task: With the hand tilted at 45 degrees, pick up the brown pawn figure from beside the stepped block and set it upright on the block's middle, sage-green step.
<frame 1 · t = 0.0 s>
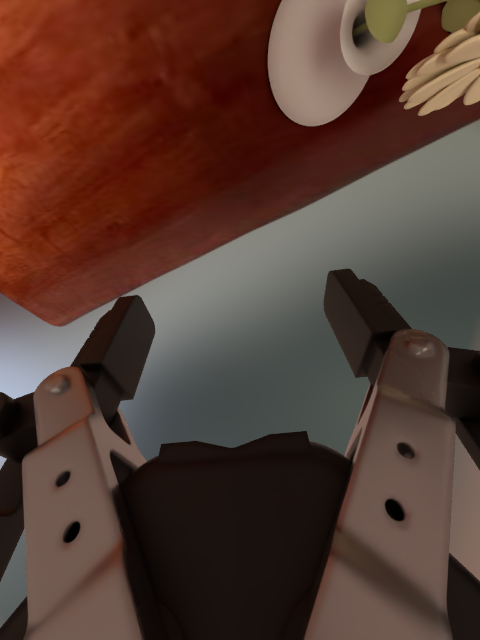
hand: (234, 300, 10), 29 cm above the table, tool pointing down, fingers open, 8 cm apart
flower in vase: (324, 59, 25), on the table
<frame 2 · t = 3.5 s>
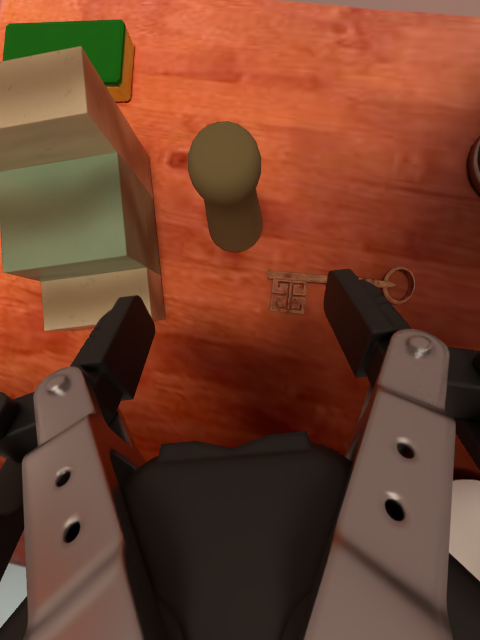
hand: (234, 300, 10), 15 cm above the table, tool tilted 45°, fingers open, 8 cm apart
stepped block: (110, 243, 26), on the table
key: (336, 290, 25), on the table
brown pawn figure: (235, 226, 26), on the table
flower in vase: (460, 532, 23), on the table
dish sponge: (78, 76, 28), on the table
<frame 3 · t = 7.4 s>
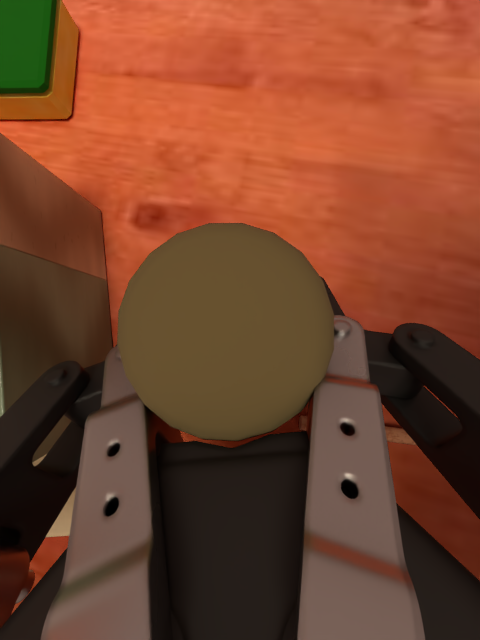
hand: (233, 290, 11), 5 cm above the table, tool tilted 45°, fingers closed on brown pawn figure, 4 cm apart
stepped block: (37, 353, 16), on the table
key: (419, 449, 14), on the table
brown pawn figure: (243, 330, 15), on the table, touching gripper
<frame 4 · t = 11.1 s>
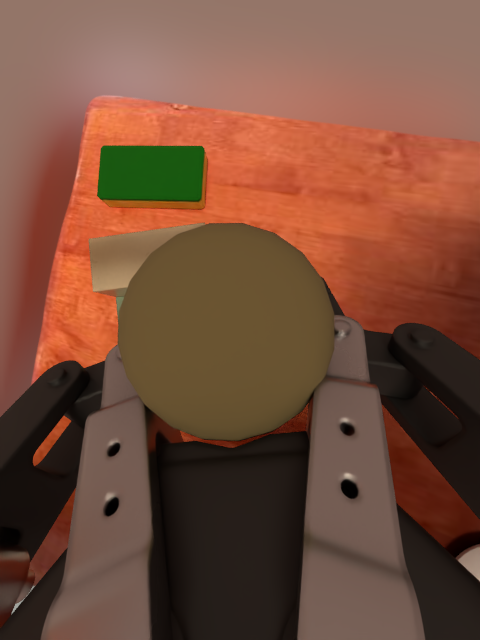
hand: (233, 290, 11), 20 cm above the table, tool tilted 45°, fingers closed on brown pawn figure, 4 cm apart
stepped block: (188, 332, 31), on the table
brown pawn figure: (243, 330, 15), point 15 cm above the table, touching gripper
dish sponge: (158, 184, 32), on the table
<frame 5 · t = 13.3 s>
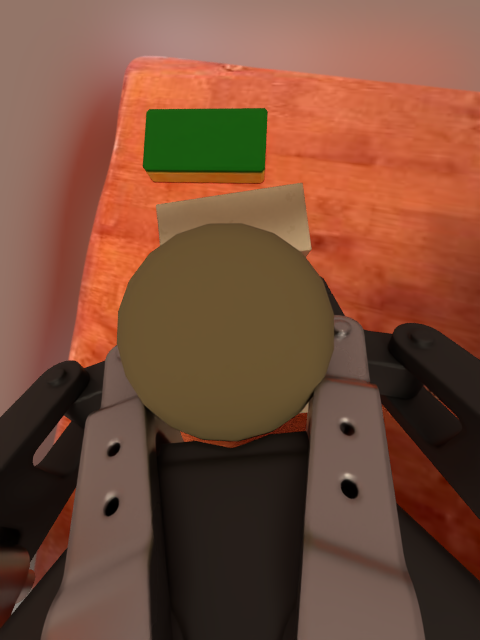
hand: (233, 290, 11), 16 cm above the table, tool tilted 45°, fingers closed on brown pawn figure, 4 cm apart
stepped block: (247, 324, 27), on the table
brown pawn figure: (243, 330, 15), point 12 cm above the table, touching gripper
dish sponge: (208, 156, 28), on the table
when the fingers open (11 cm above the table, at t = 15.0 s): brown pawn figure stays where it is, resting on stepped block.
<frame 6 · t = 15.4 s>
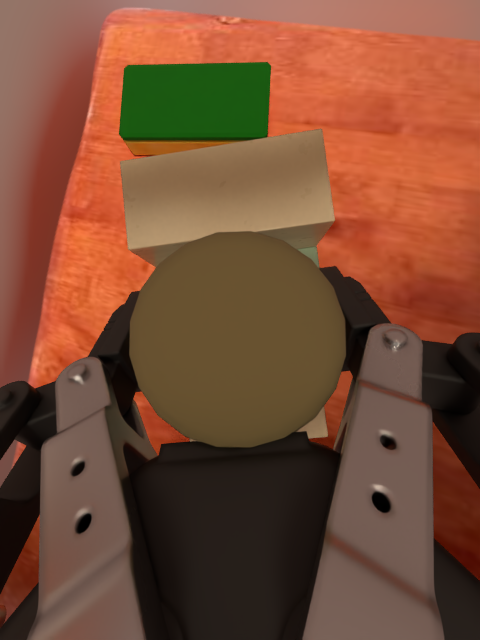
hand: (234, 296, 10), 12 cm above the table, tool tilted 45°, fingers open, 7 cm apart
stepped block: (245, 325, 22), on the table
brown pawn figure: (247, 333, 15), point 7 cm above the table, touching stepped block
dish sponge: (200, 124, 24), on the table
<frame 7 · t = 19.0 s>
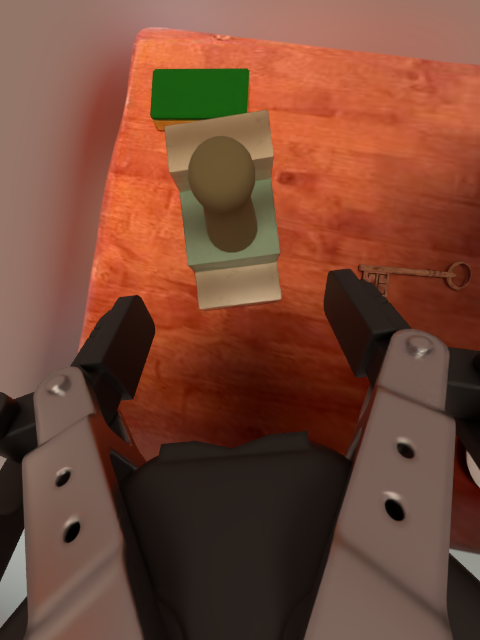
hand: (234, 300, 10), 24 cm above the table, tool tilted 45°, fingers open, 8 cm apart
stepped block: (233, 243, 34), on the table
key: (410, 279, 33), on the table
brown pawn figure: (232, 228, 27), point 7 cm above the table, touching stepped block
dish sponge: (203, 109, 35), on the table
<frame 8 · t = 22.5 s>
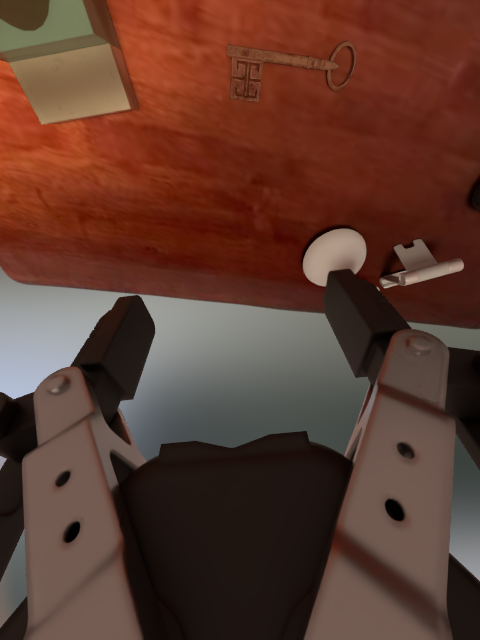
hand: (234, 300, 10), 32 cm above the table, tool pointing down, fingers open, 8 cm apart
key: (289, 72, 28), on the table
flower in vase: (332, 257, 44), on the table
tablet stand: (403, 260, 45), on the table
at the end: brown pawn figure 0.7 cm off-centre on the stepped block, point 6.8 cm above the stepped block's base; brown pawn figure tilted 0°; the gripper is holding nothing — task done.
